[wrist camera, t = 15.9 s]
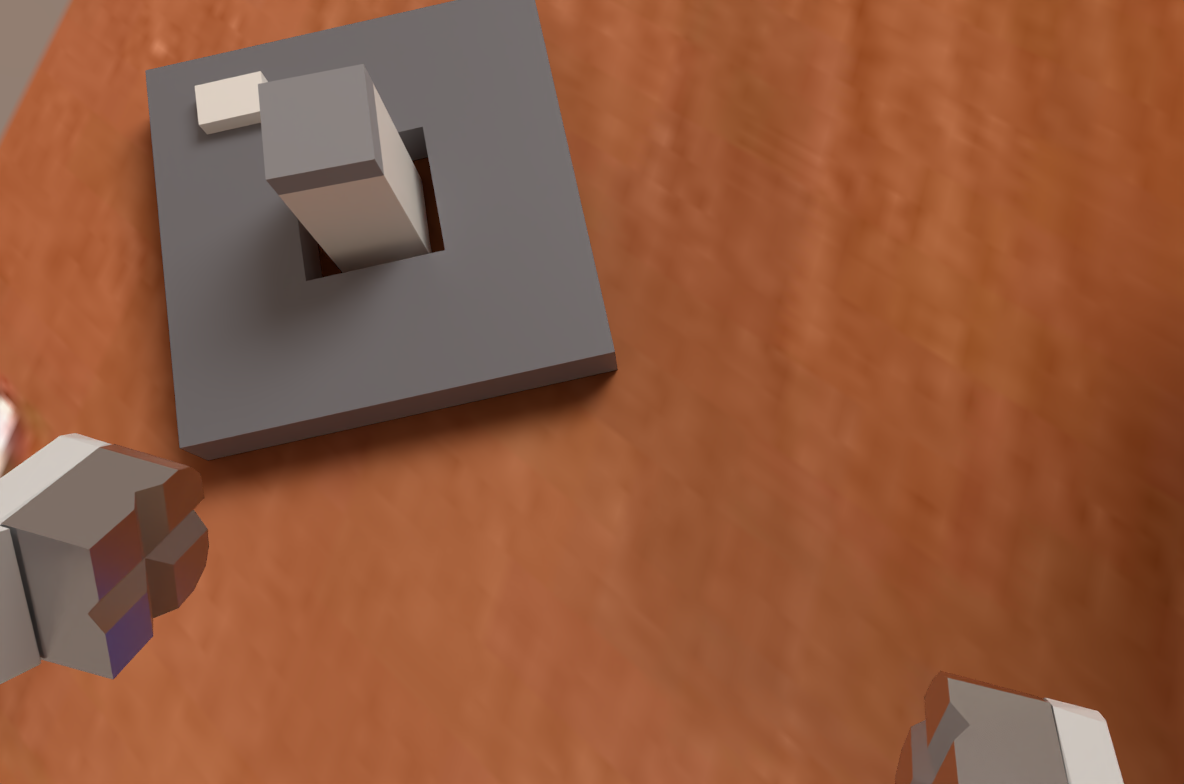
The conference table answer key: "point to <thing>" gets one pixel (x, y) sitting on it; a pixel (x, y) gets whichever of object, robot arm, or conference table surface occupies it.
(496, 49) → the socket plate
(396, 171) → the plug
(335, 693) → the conference table surface
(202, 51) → the conference table surface
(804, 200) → the conference table surface
